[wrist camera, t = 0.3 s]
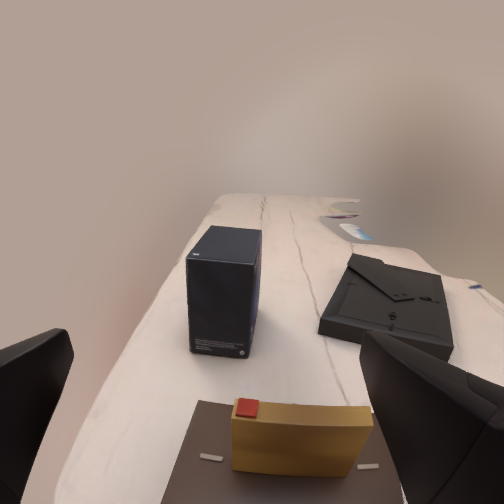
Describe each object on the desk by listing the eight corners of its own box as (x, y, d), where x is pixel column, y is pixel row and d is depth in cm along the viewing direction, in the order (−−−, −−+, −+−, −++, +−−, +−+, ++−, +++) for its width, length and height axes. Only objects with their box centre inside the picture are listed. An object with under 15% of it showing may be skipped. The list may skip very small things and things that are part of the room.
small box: (252, 360, 30) (257, 263, 26) (188, 353, 31) (181, 257, 27) (260, 307, 40) (264, 227, 36) (209, 302, 41) (208, 224, 37)
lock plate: (373, 429, 21) (385, 405, 20) (389, 549, 11) (409, 535, 10) (202, 418, 23) (199, 392, 22) (163, 536, 12) (152, 522, 11)
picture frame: (350, 268, 52) (317, 333, 35) (352, 253, 51) (321, 312, 34) (437, 286, 46) (447, 362, 28) (441, 271, 45) (456, 341, 27)
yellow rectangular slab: (346, 459, 16) (371, 402, 14) (347, 476, 15) (375, 422, 13) (235, 452, 17) (235, 394, 15) (232, 470, 16) (230, 415, 14)
